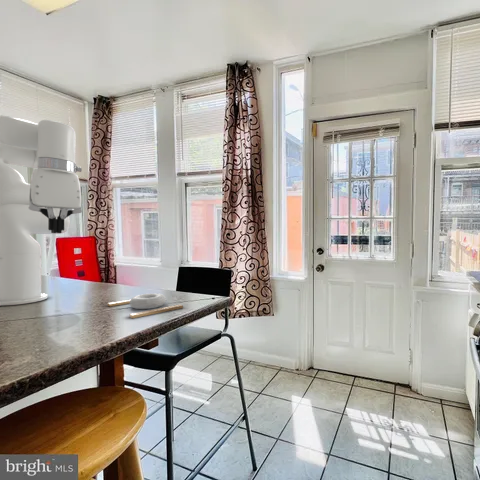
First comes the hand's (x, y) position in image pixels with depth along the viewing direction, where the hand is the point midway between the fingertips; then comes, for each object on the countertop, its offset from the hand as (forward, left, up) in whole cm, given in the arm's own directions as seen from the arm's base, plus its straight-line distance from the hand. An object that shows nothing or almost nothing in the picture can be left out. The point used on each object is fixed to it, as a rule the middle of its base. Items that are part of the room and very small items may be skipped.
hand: (56, 232), depth 76 cm
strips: (+10, +19, -23) cm, 31 cm away
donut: (+10, +20, -23) cm, 32 cm away
